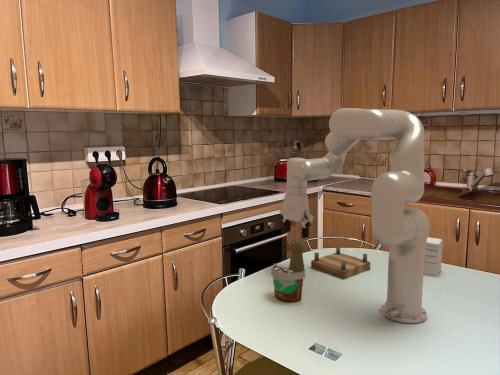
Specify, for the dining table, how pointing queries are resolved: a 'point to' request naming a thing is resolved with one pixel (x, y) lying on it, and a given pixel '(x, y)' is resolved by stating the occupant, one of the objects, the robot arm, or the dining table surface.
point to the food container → (287, 284)
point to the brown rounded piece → (296, 257)
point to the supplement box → (433, 257)
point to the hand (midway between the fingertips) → (295, 234)
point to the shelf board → (340, 264)
